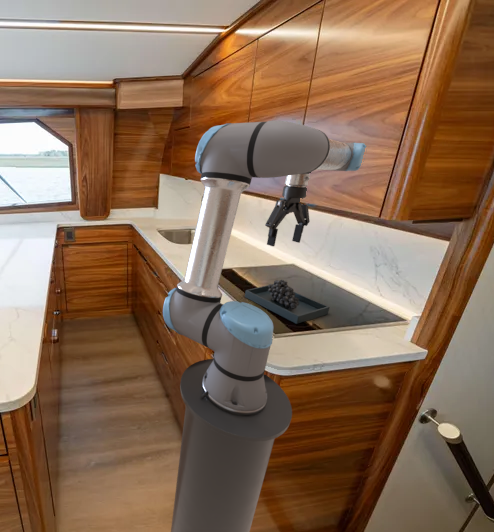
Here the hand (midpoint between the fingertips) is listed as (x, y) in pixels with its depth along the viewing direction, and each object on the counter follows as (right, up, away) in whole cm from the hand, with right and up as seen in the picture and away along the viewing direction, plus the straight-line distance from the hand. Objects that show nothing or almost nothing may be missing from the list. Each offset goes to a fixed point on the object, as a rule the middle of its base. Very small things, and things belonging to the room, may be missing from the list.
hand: (283, 243), depth 113 cm
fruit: (+2, -24, +4) cm, 24 cm away
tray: (+3, -24, +5) cm, 25 cm away
